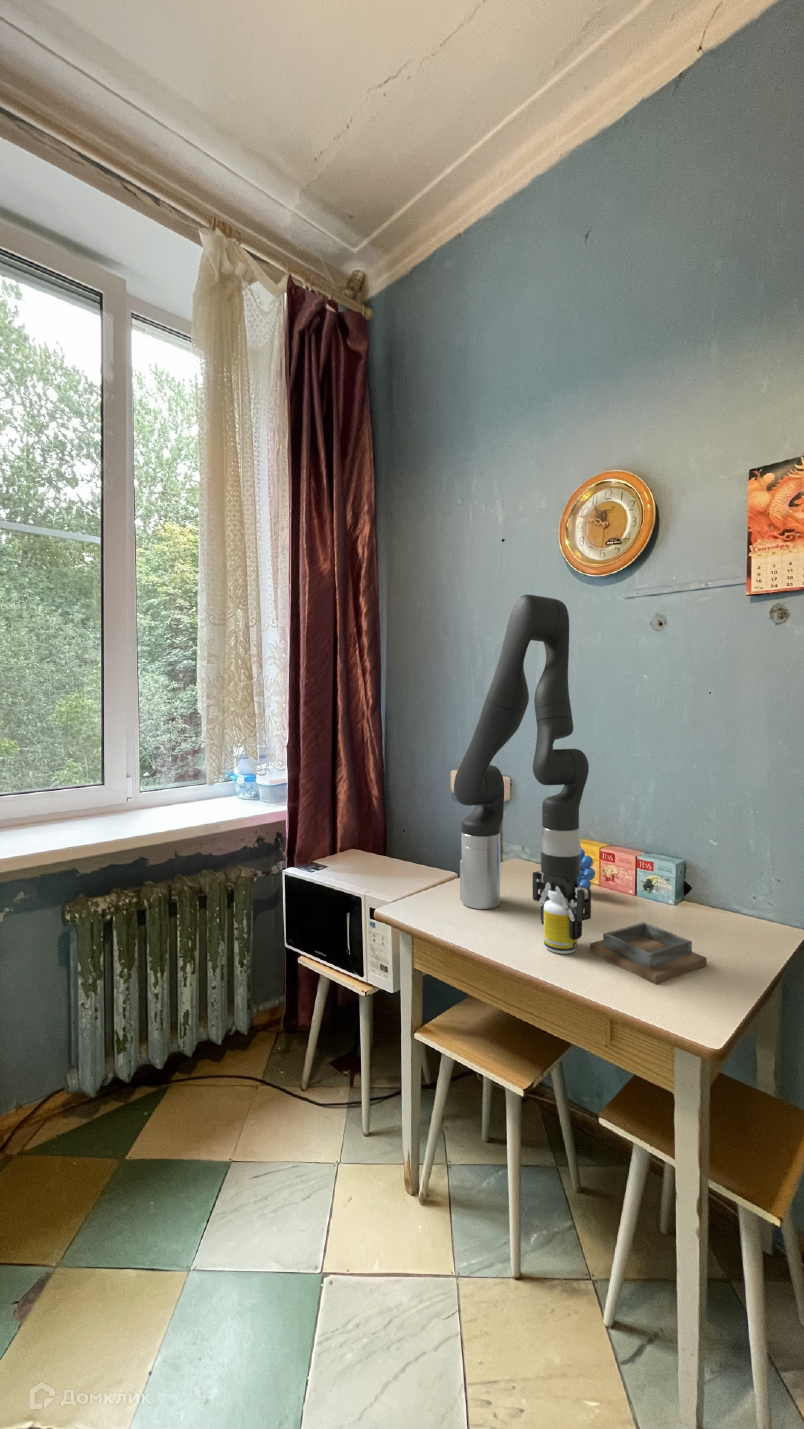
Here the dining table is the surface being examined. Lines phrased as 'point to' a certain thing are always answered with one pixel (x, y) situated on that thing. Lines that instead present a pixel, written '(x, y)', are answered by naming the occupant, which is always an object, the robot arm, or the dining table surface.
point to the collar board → (649, 952)
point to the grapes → (585, 870)
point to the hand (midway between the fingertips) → (560, 931)
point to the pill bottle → (557, 926)
